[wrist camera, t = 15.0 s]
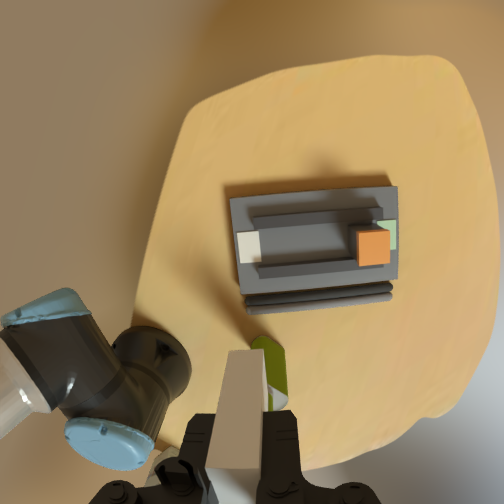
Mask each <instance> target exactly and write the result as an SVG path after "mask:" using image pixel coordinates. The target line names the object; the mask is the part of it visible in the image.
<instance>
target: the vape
mask: <svg viewBox="0 0 504 504" xmlns="http://www.w3.org/2000/svg"><path fill="white" fill-rule="evenodd" d="M253 349H263V351H264V360H265V370H266V380H267V389H268V411H279V410H281V409H283V408H284V407H285V406H286V405H287V403H288V388H287V374H286V361H285V350H284V348H283V347H282V346H280V345H279V344H277V343H276V342H274V341H273V340H271V339H270V338H269V337H267V336H259V337H257V338H256V339H255V340H254V341H253V342H252V344H251V350H253Z"/></svg>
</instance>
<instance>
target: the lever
mask: <svg viewBox="0 0 504 504" xmlns="http://www.w3.org/2000/svg"><path fill="white" fill-rule="evenodd" d="M348 245H349V254H350V255H351V256H352V257H353V258H354V259H355V260H356V261H357V264H358V265H359V266H367V265H377V264H386V263H390V230H388V229H384V228H382V227H381V226H379V225H377V224H375V223H367V224H354V225H348Z"/></svg>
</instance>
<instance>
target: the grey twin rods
mask: <svg viewBox="0 0 504 504" xmlns="http://www.w3.org/2000/svg"><path fill="white" fill-rule="evenodd" d="M392 289H393V285H392V284H391V283H382V284H373V285H365V286H356V287H347V288H337V289H327V290H317V291H307V292H296V293H285V294H273V295H261V296H249V297H246V299H245V303H246V305H249V306H248V307H247V308H246V313H247V314H249V315H257V314H270V313H282V312H293V311H304V310H314V309H324V308H334V307H343V306H351V305H360V304H368V303H376V302H384V301H390V300H391V299H392V294H391V293H390V292H389V291H391V290H392ZM382 292H385V293H382ZM374 293H377V294H374ZM365 294H369V295H365ZM357 295H360V296H357ZM348 296H351V297H348ZM339 297H342V298H339ZM329 298H333V299H329ZM319 299H324V300H319ZM309 300H314V301H309ZM299 301H303V302H299ZM288 302H292V303H288ZM276 303H281V304H276ZM264 304H269V305H264ZM251 305H256V306H251Z"/></svg>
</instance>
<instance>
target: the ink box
mask: <svg viewBox="0 0 504 504" xmlns="http://www.w3.org/2000/svg"><path fill="white" fill-rule="evenodd" d="M179 451H180V450H178V449H176V448H175V447H173V446H170V447H169V448H167V449H166V450H165V451H163V452H162V453H161V454H160V455H158V457H156V458H155V459H154V462H153V464H152V467H151V470H150V472H149V475H148V478H147V481H146V483H145V486H144V487H149V486H155V485H159V484H161V482H160V481H159V479H158V477H157V475H156V473H155V471H154V469H155V467H156V466H157V464H158V463H160V462H161V461H162V460H164V459H167V458H169V457H176V456H178V455H179Z"/></svg>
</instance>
